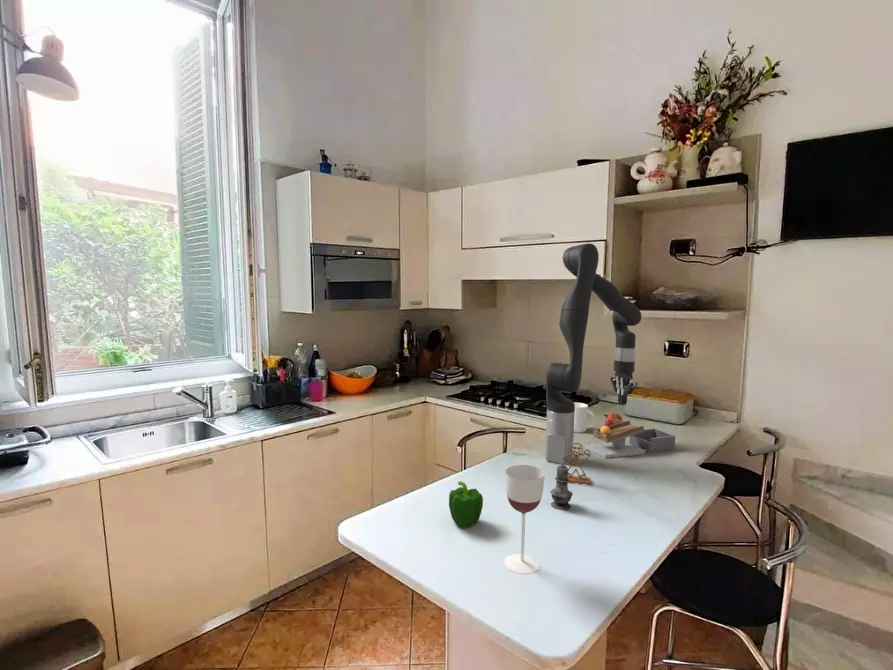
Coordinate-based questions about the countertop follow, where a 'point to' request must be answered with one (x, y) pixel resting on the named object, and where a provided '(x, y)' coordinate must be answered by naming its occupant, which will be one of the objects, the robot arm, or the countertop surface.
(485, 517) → the countertop surface
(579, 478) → the gingerbread man figurine
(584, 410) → the mug
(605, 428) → the ball
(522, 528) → the wineglass
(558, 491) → the salt shaker
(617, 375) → the robot arm
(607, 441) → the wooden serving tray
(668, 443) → the grey open box
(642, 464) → the countertop surface
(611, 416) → the pomegranate
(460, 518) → the bell pepper
